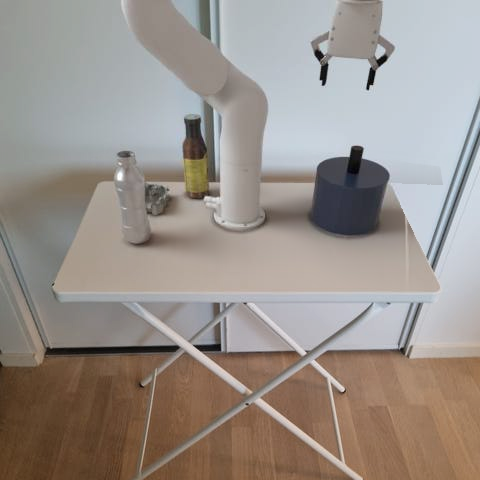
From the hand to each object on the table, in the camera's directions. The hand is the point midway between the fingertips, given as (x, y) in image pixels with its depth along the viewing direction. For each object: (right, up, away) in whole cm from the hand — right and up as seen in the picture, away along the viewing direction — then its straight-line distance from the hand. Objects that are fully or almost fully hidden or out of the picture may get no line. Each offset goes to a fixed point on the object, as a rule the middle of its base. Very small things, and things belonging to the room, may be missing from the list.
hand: (345, 86), depth 102 cm
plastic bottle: (-47, -33, +4) cm, 58 cm away
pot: (+2, -27, +13) cm, 30 cm away
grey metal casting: (-46, -22, +17) cm, 53 cm away
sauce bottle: (-35, -18, +21) cm, 45 cm away
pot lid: (+3, -18, +5) cm, 19 cm away
